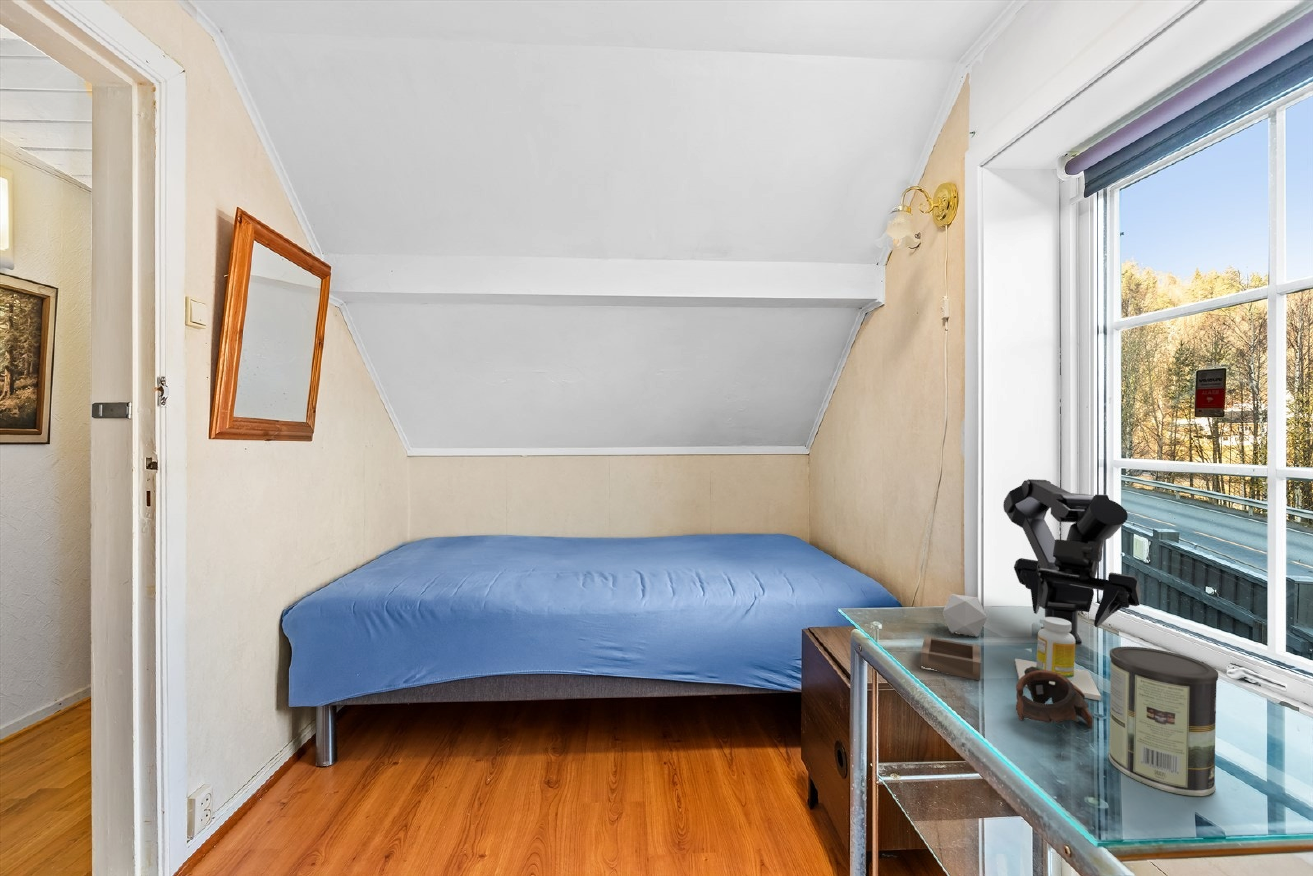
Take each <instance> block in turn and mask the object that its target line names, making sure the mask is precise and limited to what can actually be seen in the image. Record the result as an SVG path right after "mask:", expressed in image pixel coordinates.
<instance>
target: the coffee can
mask: <svg viewBox="0 0 1313 876" xmlns="http://www.w3.org/2000/svg"><path fill="white" fill-rule="evenodd" d="M1109 659H1110V678H1109V679H1110V680H1109V681H1110V687H1109V689H1110V690H1109V691H1110V692H1109V694H1110V695H1109V696H1110V697H1109V739H1108V740H1109V741H1108V742H1109V744H1108V745H1109V747H1108V748H1109V749H1108V751H1109V752H1108V761H1109V762H1110V763H1111V764H1112V766H1113V767H1115V768H1116V769H1117V770H1118V771H1120V772H1121V773H1122V774H1124V775H1126V776H1128V777H1130V778H1131V779H1133V780H1135V781H1136V782H1140V783H1141V784H1144V785H1147V786H1149V787H1152V788H1155V789H1157V790H1160V791H1164V792H1167V793H1172V794H1178V795H1183V796H1189V797H1190V796H1191V797H1205V796H1209V795H1212V794H1213V793H1215V791H1216V782H1215V780H1216V777H1215V775H1216V721H1217V719H1216V718H1217V717H1216V716H1217V684H1218V683H1217V681H1218V679H1219V672H1218V671H1217V669H1215V668H1214V667H1213V666H1211V665H1210V664H1207V663H1205V662H1203V661H1200V660H1198V659H1195V658H1192V657H1189V656H1186V655H1184V654H1180V653H1175V652H1171V651H1165V650H1161V649H1156V648H1151V647H1150V648H1148V647H1143V646H1142V647H1140V646H1116V647H1113V648H1111V649H1110V650H1109Z"/></svg>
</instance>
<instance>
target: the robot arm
mask: <svg viewBox="0 0 1313 876" xmlns="http://www.w3.org/2000/svg"><path fill="white" fill-rule="evenodd" d="M1002 505H1003V506H1002V507H1003V511H1004V513H1005V514H1006V515H1007V517H1008V519H1009V520H1010V522H1011V523H1013V524H1015V525H1016V526H1018V527H1020V528H1022V530H1023V532H1024V534H1025V536H1026V538H1027V540H1028V542H1029V545H1030V547H1031V548H1032V549H1031V550H1032V551H1033V554H1034V555H1035V557H1036V559H1037V560H1036V559H1028V558H1023V557H1021V558H1017V560H1015V562H1014V564H1013V565H1014V566H1013V569H1014V572H1015V574H1016V577H1017V581H1018V582H1019V583H1020V584H1021V585H1022V586H1025V588H1026V589H1028V590H1030V597H1031V601H1032V602H1031V604H1032V610H1033V611H1032V612H1033V614H1035V615H1037V614H1038V612H1039V610H1040V608H1042V609H1043V610H1044V618H1045V617H1056V618H1061V619H1065V620H1068V621H1070V622H1071V631H1070V632H1069V633H1070V634H1072V635H1073V636H1074V638H1075V644H1082V643H1083V640H1082V638H1081V637H1080V635H1079V633H1078V628H1079V627H1078V626H1079V621H1078V620H1079V612H1085V613H1090V610H1091V607H1092V603H1093V598H1094V595H1095V593H1094V590H1098V591H1102V597H1101V600H1100V602H1099V605H1098V608H1097V610H1096V613H1095V617H1094V620H1093V625H1094V627H1095V628H1099V627H1100V626H1101V625H1102V624H1103V623H1104V622H1105V621H1107V619H1109V618H1110V617H1111V615H1113V614H1115V613H1117V612H1118V611H1119V610H1121V609H1123V608H1124V609H1129V608H1130V606H1132V607H1138V606H1140V605H1141V604H1140V603H1141V599H1142V591H1141V587H1140V582H1139V579H1138V578H1137V577H1136V576H1135V575H1129V574H1124V573H1119V572H1117V573H1116V572H1109V573H1108V577H1107V579H1105V578H1098V577H1096V575H1097V572H1098V571H1099V568H1100V563H1101V562H1102V558H1103V549H1104V548H1103V547H1104V543H1105V540H1109V539H1111V538H1112V537H1113V536H1114V535H1115V534H1116V532H1118V531H1119V530H1120V528H1121V527H1122V526H1123V525H1124V524H1125V523H1126V522H1127V520H1128V518H1129V517H1128V516H1129V515H1128V512H1127V510H1126V509H1125V508H1124V507H1123V506H1122V505H1121V504H1119V503H1118V502H1116V501H1114V500H1111V499H1110V498H1109V495H1107V494H1094V495H1093V494H1086V493H1077V492H1076V493H1074V492H1073V493H1072V492H1069V491H1067V490H1065V489H1064V488H1061V487H1060V486H1057V485H1055V484H1053V483H1052V482H1051V481H1050V480H1047V479H1035V478H1034V479H1029V478H1028V479H1025V480H1024V481H1022V484H1021V485H1019V486H1018V487H1016V488H1014V489H1012V490H1009V492H1008V493H1007V495H1006V497H1005V498H1004V500H1003V504H1002ZM1049 509H1050V515H1051V516H1052V518H1054V519H1055V520H1056V521H1057V522H1059V523H1072V524H1070V526H1069V528H1068V531H1067V537H1066V539H1058V538H1057V539H1055V536H1054V535H1053V534H1052V531H1051V529H1050V527H1049V526H1048V523H1047V522H1046V520H1045V517H1046V515H1047V513H1048V511H1049ZM1043 628H1045V627H1044V626H1040V630H1041V629H1043Z"/></svg>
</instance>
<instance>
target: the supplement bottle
mask: <svg viewBox="0 0 1313 876" xmlns="http://www.w3.org/2000/svg"><path fill="white" fill-rule="evenodd" d="M1042 627H1045V628H1043V629H1041V628H1040V630H1038V633H1037V647H1036V649H1037V650H1036V662H1037V664H1036V668H1038V669H1040V670H1047V671H1053V672H1056V673H1058V674H1061V675H1063V676H1065V677H1066V678H1067V679H1068V680H1069V681H1071V680H1072V679H1073V678H1074V669H1075V662H1076V661H1075V658H1076V656H1075V655H1076V643H1075V638H1074V636H1073V635H1072V634H1070V633H1069V632H1070V631H1071V622H1070V621H1068V620H1065V619H1061V618H1056V617H1045V616H1044V617H1043V620H1042Z"/></svg>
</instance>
